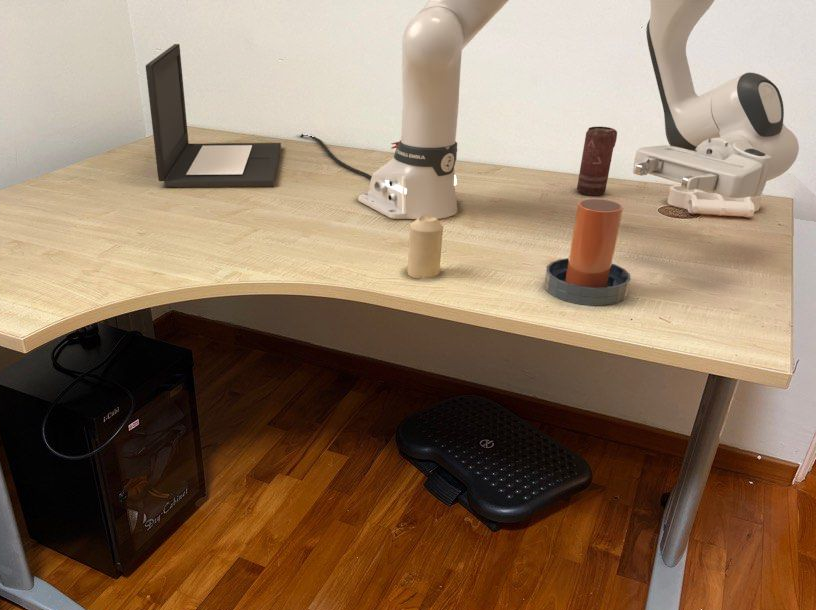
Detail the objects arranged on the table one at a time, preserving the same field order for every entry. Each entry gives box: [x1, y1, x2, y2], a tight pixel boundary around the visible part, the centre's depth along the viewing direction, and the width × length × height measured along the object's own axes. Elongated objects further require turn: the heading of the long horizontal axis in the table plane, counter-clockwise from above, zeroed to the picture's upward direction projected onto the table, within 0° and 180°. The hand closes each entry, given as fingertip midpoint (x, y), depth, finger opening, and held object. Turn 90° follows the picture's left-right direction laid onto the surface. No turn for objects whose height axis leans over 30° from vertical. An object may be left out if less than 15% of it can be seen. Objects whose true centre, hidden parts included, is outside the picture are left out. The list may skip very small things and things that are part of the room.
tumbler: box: [565, 198, 624, 288], centre depth 121 cm, size 7×7×14 cm
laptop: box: [145, 43, 282, 188], centre depth 187 cm, size 37×27×27 cm
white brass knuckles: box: [666, 184, 764, 219], centre depth 160 cm, size 3×18×15 cm
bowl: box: [543, 257, 632, 307], centre depth 124 cm, size 13×13×3 cm
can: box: [576, 126, 618, 197], centre depth 168 cm, size 6×6×14 cm
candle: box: [406, 215, 444, 280], centre depth 129 cm, size 6×6×10 cm
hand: (660, 176), depth 121 cm, fingers open, 8 cm apart
